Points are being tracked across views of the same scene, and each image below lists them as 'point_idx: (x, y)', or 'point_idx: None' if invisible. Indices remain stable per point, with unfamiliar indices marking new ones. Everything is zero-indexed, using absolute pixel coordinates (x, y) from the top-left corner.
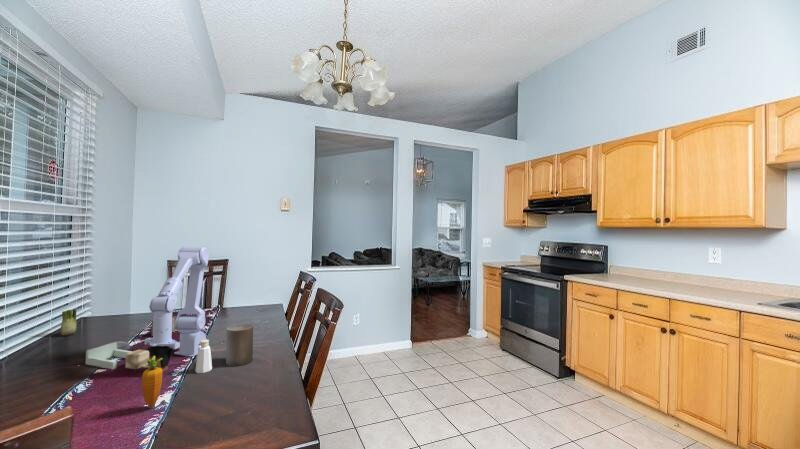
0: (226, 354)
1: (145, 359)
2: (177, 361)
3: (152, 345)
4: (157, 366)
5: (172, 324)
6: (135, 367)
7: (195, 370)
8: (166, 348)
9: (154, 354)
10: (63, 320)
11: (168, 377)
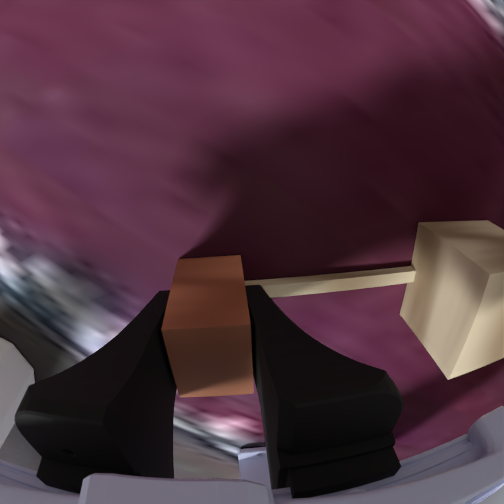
0: (3, 455)
1: (428, 317)
2: (258, 403)
3: (102, 495)
4: (209, 282)
5: None
6: (426, 227)
7: (9, 346)
8: (54, 458)
9: (262, 361)
10: None
11: (33, 225)
